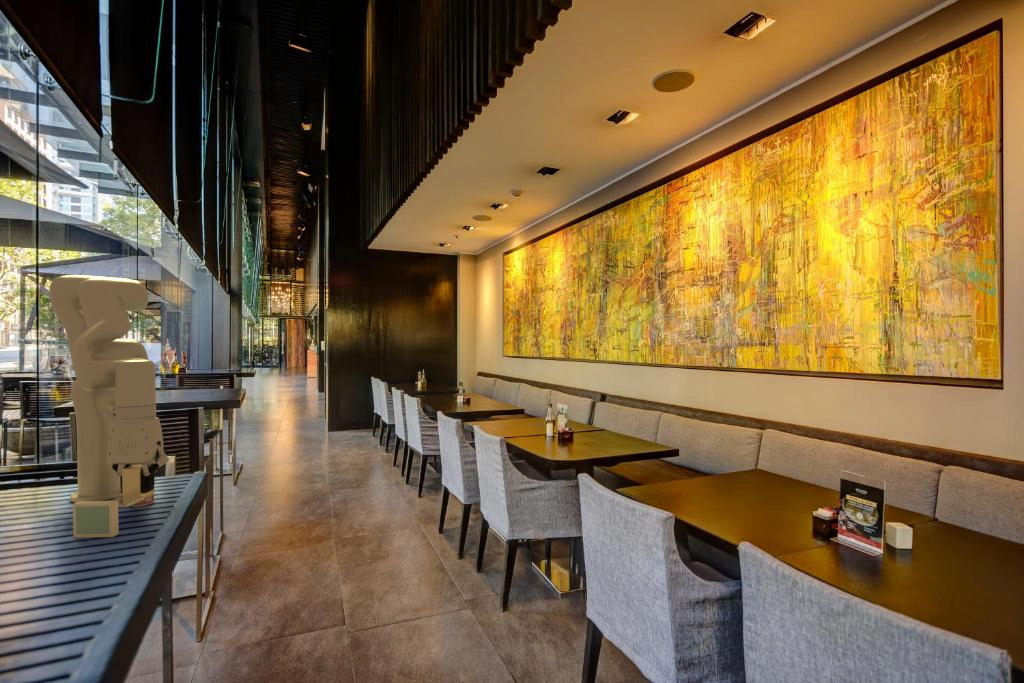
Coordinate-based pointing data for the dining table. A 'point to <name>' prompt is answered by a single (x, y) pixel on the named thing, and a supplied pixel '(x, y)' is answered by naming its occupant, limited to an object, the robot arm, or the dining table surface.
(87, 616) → the dining table surface
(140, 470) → the beige boxy piece
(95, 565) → the dining table surface
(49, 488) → the dining table surface
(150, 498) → the pill bottle
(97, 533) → the block
